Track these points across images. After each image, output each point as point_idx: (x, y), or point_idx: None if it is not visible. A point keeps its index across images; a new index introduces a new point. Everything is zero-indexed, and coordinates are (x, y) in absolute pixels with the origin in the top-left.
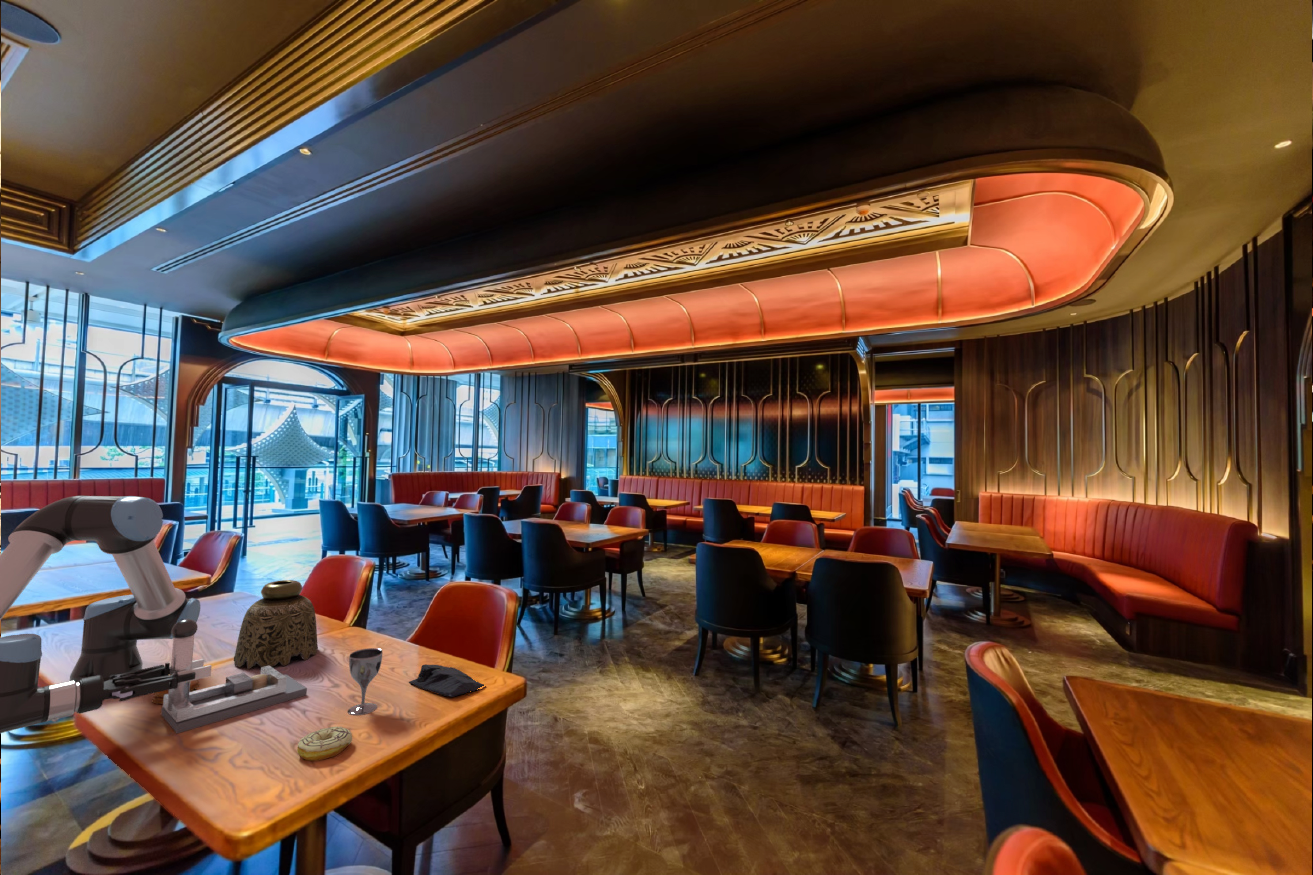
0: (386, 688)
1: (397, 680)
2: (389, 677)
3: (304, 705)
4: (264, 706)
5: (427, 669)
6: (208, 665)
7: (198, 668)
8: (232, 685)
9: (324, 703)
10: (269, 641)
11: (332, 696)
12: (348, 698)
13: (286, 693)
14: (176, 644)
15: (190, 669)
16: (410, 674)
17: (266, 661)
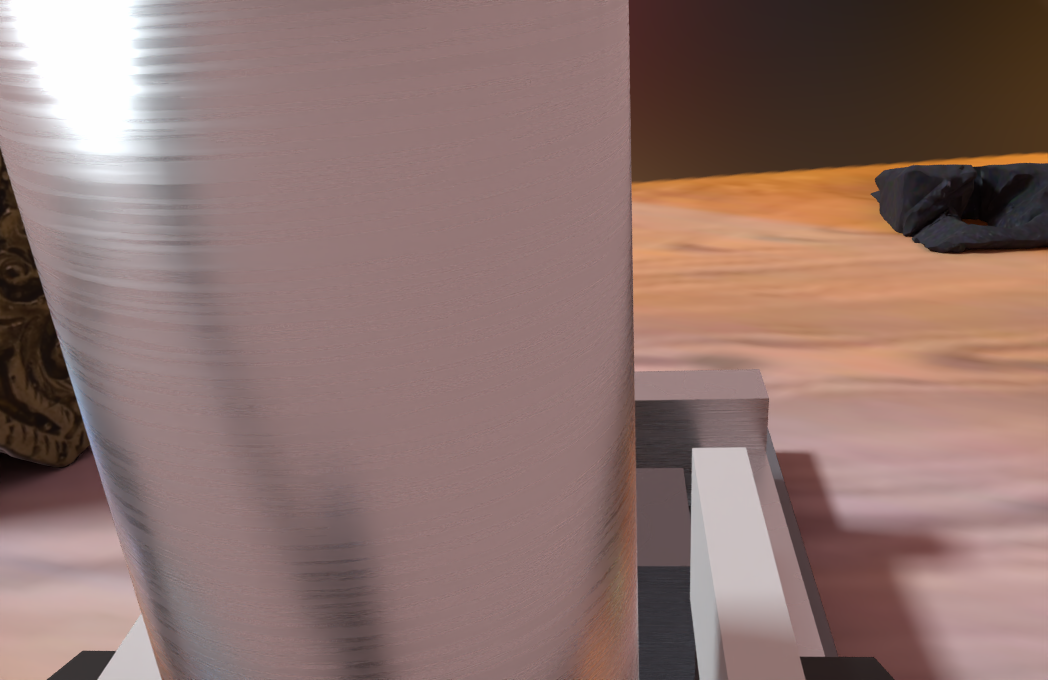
0: (944, 291)
1: (863, 262)
2: (797, 266)
3: (951, 492)
4: None
5: (973, 174)
6: (695, 466)
7: (765, 567)
8: None
9: (989, 437)
10: (6, 279)
11: (891, 399)
12: (982, 374)
13: (777, 479)
14: (471, 25)
15: (725, 656)
16: (823, 237)
17: (50, 417)
